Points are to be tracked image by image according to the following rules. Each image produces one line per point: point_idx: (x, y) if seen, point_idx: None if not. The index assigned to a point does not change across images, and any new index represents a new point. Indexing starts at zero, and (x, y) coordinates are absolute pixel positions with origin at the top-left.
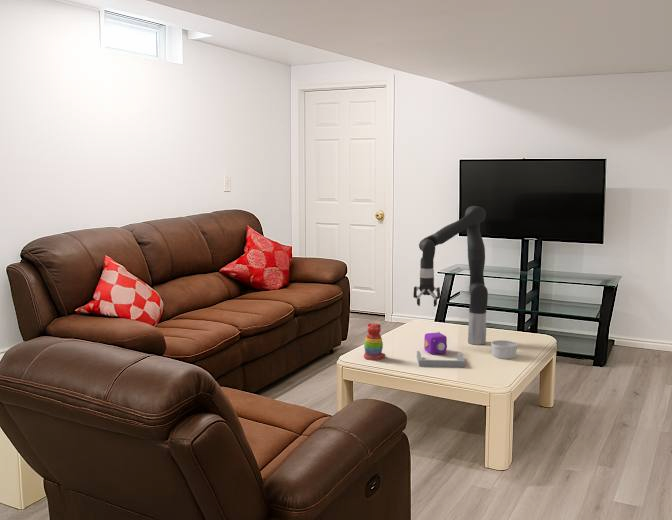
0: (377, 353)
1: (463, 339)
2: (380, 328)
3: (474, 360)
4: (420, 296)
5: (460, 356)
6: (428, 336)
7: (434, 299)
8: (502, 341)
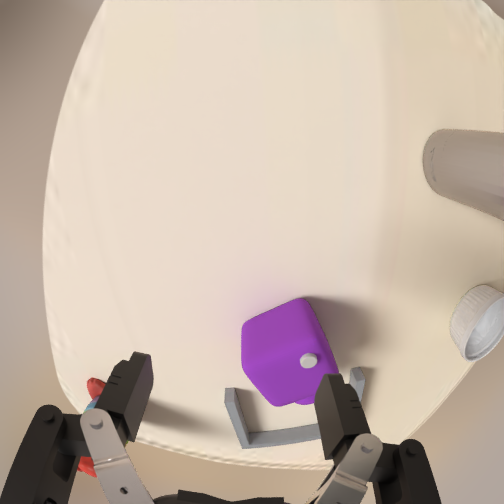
0: None
1: (407, 107)
2: None
3: (391, 372)
4: (123, 447)
5: None
6: (261, 393)
7: (334, 465)
8: (499, 298)
